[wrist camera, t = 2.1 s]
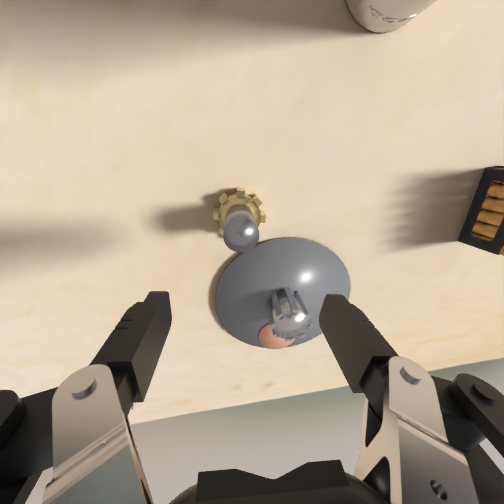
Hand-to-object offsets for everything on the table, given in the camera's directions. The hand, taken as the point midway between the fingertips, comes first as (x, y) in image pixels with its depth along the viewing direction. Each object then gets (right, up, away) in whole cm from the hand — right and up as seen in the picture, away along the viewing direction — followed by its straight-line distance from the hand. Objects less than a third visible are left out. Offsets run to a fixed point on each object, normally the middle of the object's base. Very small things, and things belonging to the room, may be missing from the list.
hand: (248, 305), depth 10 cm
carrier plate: (+5, -5, +23) cm, 24 cm away
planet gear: (-2, +8, +16) cm, 18 cm away
